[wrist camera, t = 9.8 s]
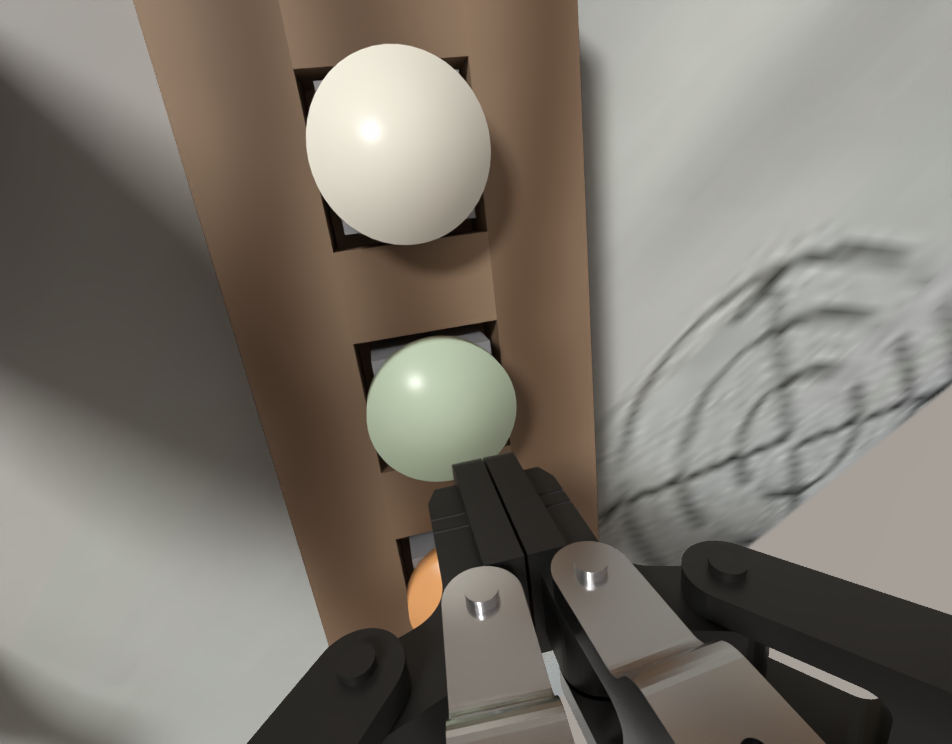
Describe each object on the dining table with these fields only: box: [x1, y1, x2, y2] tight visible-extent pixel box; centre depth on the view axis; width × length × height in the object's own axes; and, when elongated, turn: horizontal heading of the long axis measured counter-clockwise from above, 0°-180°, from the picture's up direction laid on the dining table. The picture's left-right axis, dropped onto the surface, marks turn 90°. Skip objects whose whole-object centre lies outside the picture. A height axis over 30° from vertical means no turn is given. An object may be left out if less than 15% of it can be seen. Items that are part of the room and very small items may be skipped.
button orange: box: [407, 531, 443, 629], centre depth 20 cm, size 5×5×4 cm
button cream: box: [306, 44, 491, 245], centre depth 15 cm, size 5×5×4 cm
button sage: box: [367, 324, 516, 482], centre depth 17 cm, size 5×5×4 cm
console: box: [133, 0, 599, 646], centre depth 18 cm, size 12×26×3 cm, turn 8°
